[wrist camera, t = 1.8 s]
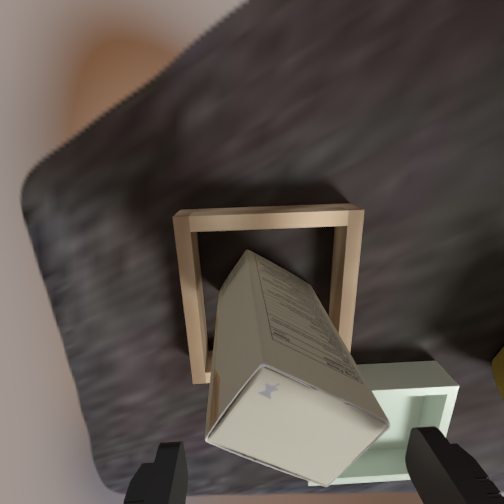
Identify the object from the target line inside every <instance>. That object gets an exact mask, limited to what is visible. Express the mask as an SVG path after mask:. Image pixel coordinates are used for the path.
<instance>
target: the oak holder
mask: <svg viewBox="0 0 504 504" xmlns="http://www.w3.org/2000/svg"><path fill="white" fill-rule="evenodd" d="M363 220H364V209H362V208H359V207H357V206H355V205H353V204H351V203H344V204H317V205H290V206H263V207H236V208H209V209H183V210H180V211H178V212H177V213H176V214H175V215H174V216H173V226H174V234H175V242H176V250H177V258H178V266H179V274H180V282H181V290H182V298H183V306H184V314H185V322H186V330H187V339H188V347H189V355H190V363H191V371H192V379H193V384H201V383H210V376H211V365H212V356H213V351H209V350H208V340H207V329H206V319H205V309H204V298H203V288H202V278H201V267H200V257H199V247H198V236H197V232H205V231H231V230H256V229H282V228H307V227H333V226H335V228H334V244H333V259H332V274H331V289H330V304H329V318H330V320H331V321H332V323H333V325H334V327H335V328H336V330H337V332H338V333H339V335H340V337H341V339H342V340H343V342H344V344H345V346H346V347H347V349H348V351H349V352H350V351H351V341H352V331H353V321H354V311H355V300H356V290H357V280H358V270H359V260H360V250H361V240H362V230H363Z"/></svg>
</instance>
